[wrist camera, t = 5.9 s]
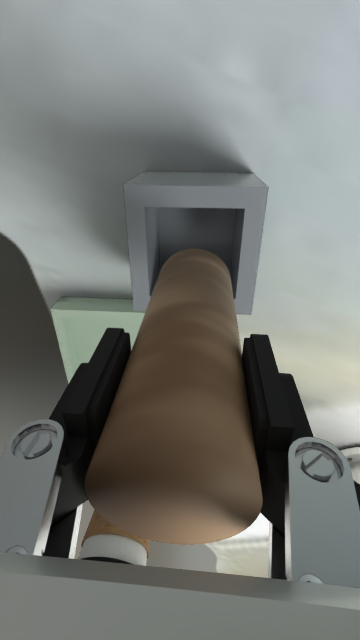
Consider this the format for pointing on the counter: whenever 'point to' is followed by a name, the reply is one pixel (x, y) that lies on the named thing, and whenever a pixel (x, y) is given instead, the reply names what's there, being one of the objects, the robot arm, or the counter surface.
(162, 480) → the walnut dowel
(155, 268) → the square cup
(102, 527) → the coffee cup
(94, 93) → the counter surface
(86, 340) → the sage tray
